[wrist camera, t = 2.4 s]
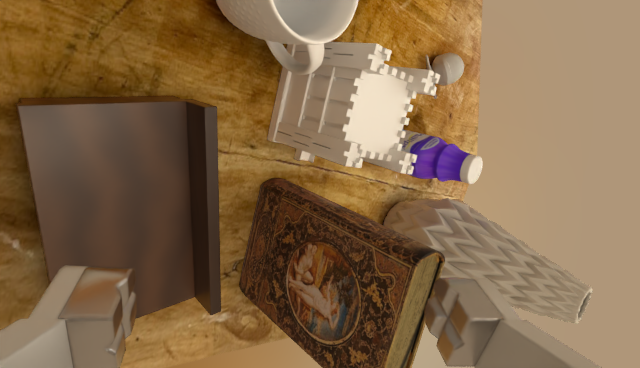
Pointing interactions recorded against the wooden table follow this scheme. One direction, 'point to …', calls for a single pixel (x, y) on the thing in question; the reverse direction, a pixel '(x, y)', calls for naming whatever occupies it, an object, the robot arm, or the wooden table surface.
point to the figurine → (446, 68)
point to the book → (337, 279)
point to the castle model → (348, 106)
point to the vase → (491, 257)
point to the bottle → (440, 159)
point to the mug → (291, 25)
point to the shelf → (128, 191)
